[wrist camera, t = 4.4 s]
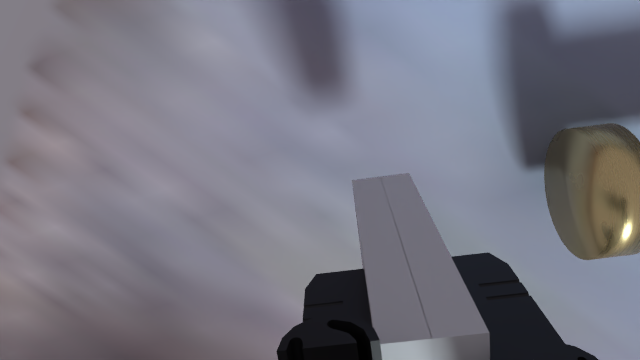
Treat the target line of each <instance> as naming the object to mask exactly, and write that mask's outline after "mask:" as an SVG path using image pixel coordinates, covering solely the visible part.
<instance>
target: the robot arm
mask: <svg viewBox="0 0 640 360" xmlns="http://www.w3.org/2000/svg"><path fill="white" fill-rule="evenodd" d="M352 185H353V193H354V201H355V209H356V217H357V225H358V233H359V241H360V249H361V257H362V265H363V269H357V270H349V271H340V272H331V273H323V274H316V275H315V277H314V278H313V279H312V281H311V282H310V283H309V285H308V286H307V287H306V289H305V299H304V311H303V323H301V324H299V325H297V326H295V327H293V328H292V329H291V330H290V331H289V332H288V333H287V334H286V335H285V336H284V337H283V338H282V340H281V342H280V345H279V347H278V349H277V355H278V360H598V359H597V358H596V357H595V356H593V355H591V354H589V353H587V352H585V351H583V350H581V349H579V348H577V347H575V346H571V345H567V344H565V343H564V342H563V340H562V339H561V338H560V336H559V335H558V333H557V332H556V331H555V329H554V328H553V326H552V325H551V324H550V322H549V321H548V319H547V318H546V317H545V315H544V314H543V312H542V311H541V310H540V308H539V307H538V305H537V304H536V303H535V301H534V300H533V298H532V297H531V296H529V294H528V291H527V290H526V289H525V287H524V286H523V284H522V283H520V282H519V279H518V277H517V276H516V275H515V273H514V272H513V270H512V269H511V267H510V266H509V265H508V264H507V263H505V262H504V261H502V260H500V259H499V258H497V257H495V256H494V255H492V254H490V253H481V254H472V255H463V256H454V257H451V255H450V253H449V251H448V249H447V247H446V246H445V244H444V242H443V240H442V238H441V236H440V234H439V232H438V230H437V228H436V226H435V224H434V222H433V220H432V218H431V216H430V214H429V212H428V210H427V208H426V206H425V204H424V202H423V200H422V198H421V196H420V194H419V192H418V190H417V188H416V186H415V184H414V182H413V180H412V178H411V176H410V174H409V173H406V174H398V175H390V176H382V177H374V178H366V179H358V180H352Z"/></svg>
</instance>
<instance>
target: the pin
mask: <svg viewBox="0 0 640 360" xmlns="http://www.w3.org/2000/svg"><path fill="white" fill-rule="evenodd" d="M544 180H545V192H546V198H547V204H548V208H549V212H550V215H551V218H552V221H553V224H554V226H555V229H556V231H557V233H558V235H559V237H560V238H561V240H562V242H563V243H564V245H565V246H566V247H567V249H568V250H569V251H570V252H571V253H572V254H574V255H575V256H577V257H578V258H580V259H583V260H592V259H600V258H609V257H617V256H626V255H633V254H637V253H639V252H640V142H639V140H638V139H637V138H636V137H635V136H634V135H633V134H632V133H631V132H630V131H629V130H628V129H626V128H625V127H623V126H621V125H618V124H614V123H608V124H600V125H593V126H585V127H578V128H570V129H564V130H561V131H559V132H558V133H557V134H556V135H555V136H554V137H553V139H552V141H551V142H550V145H549V147H548V151H547V154H546V160H545V171H544Z"/></svg>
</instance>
